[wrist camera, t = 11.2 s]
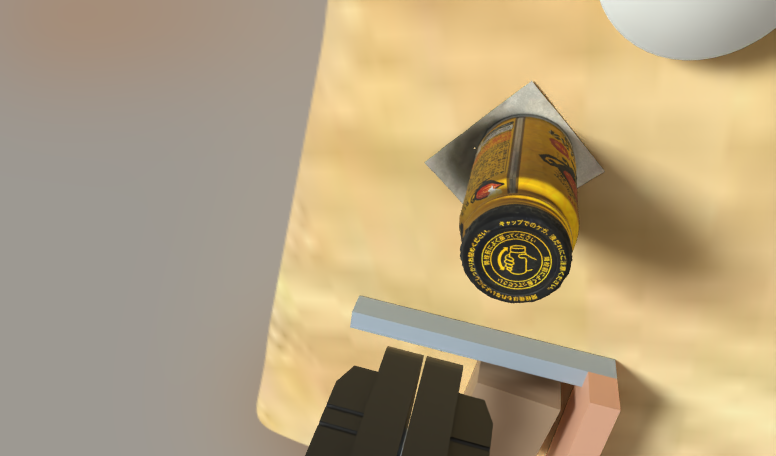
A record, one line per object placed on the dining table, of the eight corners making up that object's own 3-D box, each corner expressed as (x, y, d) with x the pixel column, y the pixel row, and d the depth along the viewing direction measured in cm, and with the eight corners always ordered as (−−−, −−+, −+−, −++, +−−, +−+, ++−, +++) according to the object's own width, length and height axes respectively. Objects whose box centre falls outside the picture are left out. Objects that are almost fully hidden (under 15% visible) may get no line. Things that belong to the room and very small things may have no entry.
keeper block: (560, 371, 48) (560, 410, 45) (529, 432, 52) (527, 472, 49) (483, 345, 49) (477, 382, 46) (457, 408, 53) (450, 446, 49)
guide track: (615, 359, 47) (620, 410, 42) (561, 484, 54) (561, 538, 50) (359, 295, 49) (340, 337, 45) (341, 423, 56) (323, 470, 52)
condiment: (605, 170, 40) (620, 278, 30) (495, 239, 44) (476, 355, 34) (532, 79, 38) (522, 162, 28) (424, 160, 42) (382, 258, 32)
